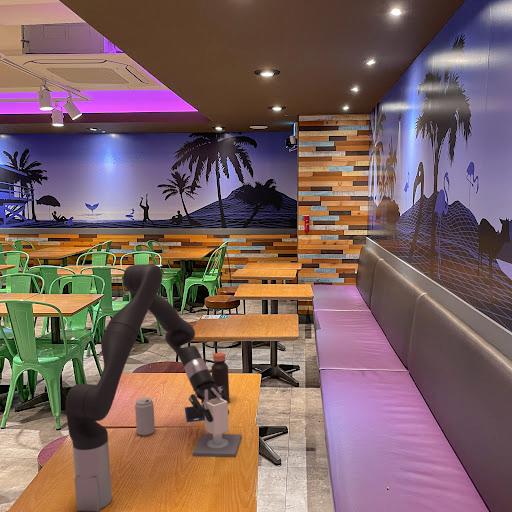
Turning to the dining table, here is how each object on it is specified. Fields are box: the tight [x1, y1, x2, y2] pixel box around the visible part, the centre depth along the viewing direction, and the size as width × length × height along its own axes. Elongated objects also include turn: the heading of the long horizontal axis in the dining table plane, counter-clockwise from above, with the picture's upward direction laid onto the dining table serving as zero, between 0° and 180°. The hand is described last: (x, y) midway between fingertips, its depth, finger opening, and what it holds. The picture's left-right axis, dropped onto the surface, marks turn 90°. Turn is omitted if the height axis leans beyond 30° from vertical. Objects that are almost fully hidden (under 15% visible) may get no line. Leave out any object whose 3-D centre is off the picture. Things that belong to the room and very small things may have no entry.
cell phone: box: [184, 405, 205, 423], centre depth 200 cm, size 7×14×1 cm, turn 11°
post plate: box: [191, 433, 243, 458], centre depth 173 cm, size 14×14×7 cm
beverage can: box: [134, 397, 156, 437], centre depth 185 cm, size 6×6×12 cm
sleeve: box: [204, 397, 230, 435], centre depth 172 cm, size 6×6×10 cm
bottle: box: [210, 352, 230, 404], centre depth 210 cm, size 7×7×20 cm
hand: (219, 418), depth 171 cm, fingers closed on sleeve, 5 cm apart
